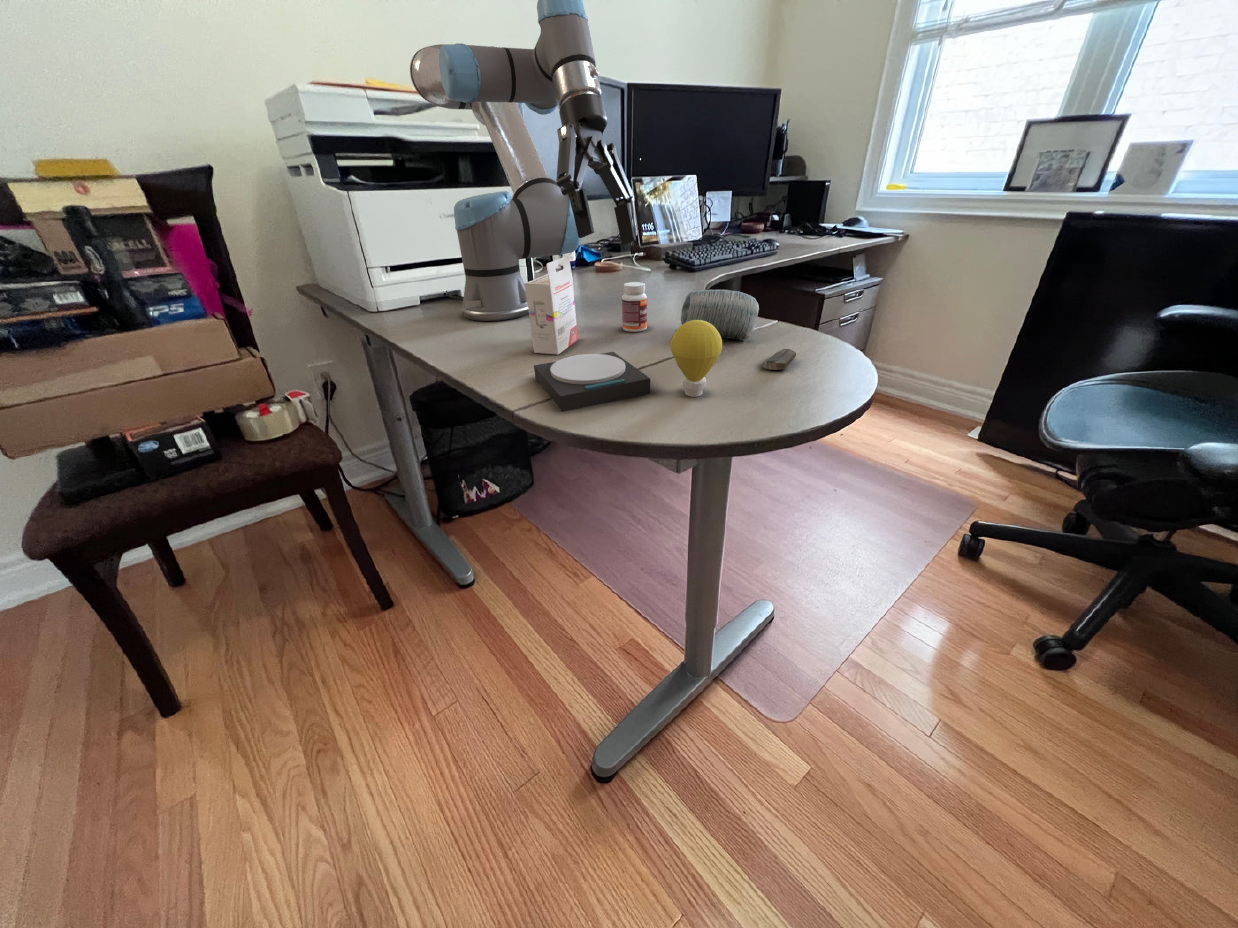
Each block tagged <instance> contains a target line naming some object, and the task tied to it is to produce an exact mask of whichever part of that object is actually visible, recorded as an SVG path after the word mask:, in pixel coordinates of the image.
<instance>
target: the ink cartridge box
mask: <svg viewBox="0 0 1238 928" xmlns="http://www.w3.org/2000/svg"><path fill="white" fill-rule="evenodd" d="M570 261H571V260H570V256H569V255H566V256H563V257H559V258H557V259H554V260H552V261H550V262H547V263H546V271H547V273H546V274H544V275H541V276H539V277H536V278H534V279H532V280H530V281H526V282H524V285H525V291H526V297H527V305H528V311H529V314H528V317H529V324H530V332H531V337H532V339H531V340H532V346H533V353H534V354H545V355H546V354H547V355H556V356H557V355H560V354H561V353H563V352H564V351H565V350H567V349H568V348H569V347H571V346H572V345H573V344H575V343H576V342H577V341H578V326H577V315H576V303H575V302H576V301H575V294H574V293H575V291H574V279H573V273H572V267H571V262H570ZM559 266H560V267H562V269H561V270H559V271H557V268H559Z"/></svg>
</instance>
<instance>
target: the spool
mask: <svg viewBox="0 0 1238 928" xmlns="http://www.w3.org/2000/svg"><path fill="white" fill-rule="evenodd" d="M759 310H760V307H759V303H758V302H757V299H756V298H755V297H753V296H752V295H750V294H747V293H744V292H741V291H737V290H729V289H700V290H693V291H690V292H689V293H688V294H687V295H686V297H685V298H684V301H683V304H682V308H681V314H680V323H681V325H683V324H684V323H686V322H688V321H692V320H703V321H706V322H708V323H710V324H712V325H713V326H714V327H715V328H716V329H717V331H718V332H719V334H720V336H721V339H731V340H740V341H743V340H746V339H748V338H749V337H750V336H751V335H752V333H753V332H754V330H755V327H756V324H757V321H758V317H759V316H758V315H759Z"/></svg>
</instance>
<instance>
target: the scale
mask: <svg viewBox="0 0 1238 928" xmlns="http://www.w3.org/2000/svg"><path fill="white" fill-rule="evenodd" d="M533 369H534V377H535V380H536V382H538V384H539V385H540V386H541V388H543V391H544V392H546V394H547V395H548V396H549V398H551V400H552V401H553V403H555V405H556V406H557V408H559V410H560V411H561V412H566V411H570V410H576V409H579V408H583V407H584V408H586V407H589V406H594V405H595V406H596V405H600V404H604V403H609V402H614V401H618V400H619V401H620V400H623V399H627V398H634V397H638V396H643V395H647V394H651V377H649V376H648V375H646V374H645V373H644V372H642V371H641V370H639V369H638V368H637V367H635V366H634V365H633V364H631V363H630V362H629V361H627V360H626V359H624V358H623V357H622V356H620V355H619V354H618V353H616V352H614V351H609V352H604V353H603V352H602V353H583V354H575V355H570V356H567V357H564V358H561V359H558V360H557V361H551V362H546V363H545V362H544V363H539V364H534V365H533Z"/></svg>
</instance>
